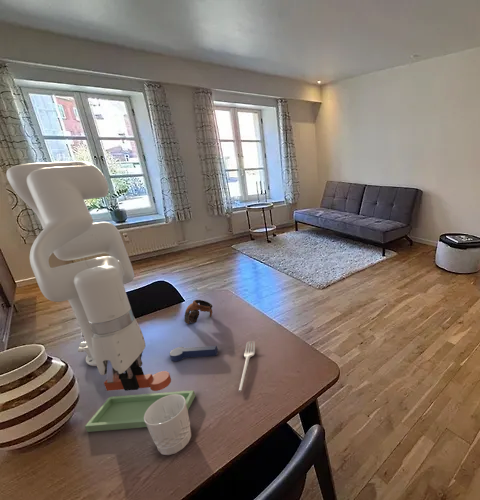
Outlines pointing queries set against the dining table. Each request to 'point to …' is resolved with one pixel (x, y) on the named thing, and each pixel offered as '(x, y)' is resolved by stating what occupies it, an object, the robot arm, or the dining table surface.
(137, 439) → the dining table surface
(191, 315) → the orange headphones
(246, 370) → the fork
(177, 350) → the blue spoon
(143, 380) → the terracotta spoon
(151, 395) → the tray
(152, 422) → the white cup
